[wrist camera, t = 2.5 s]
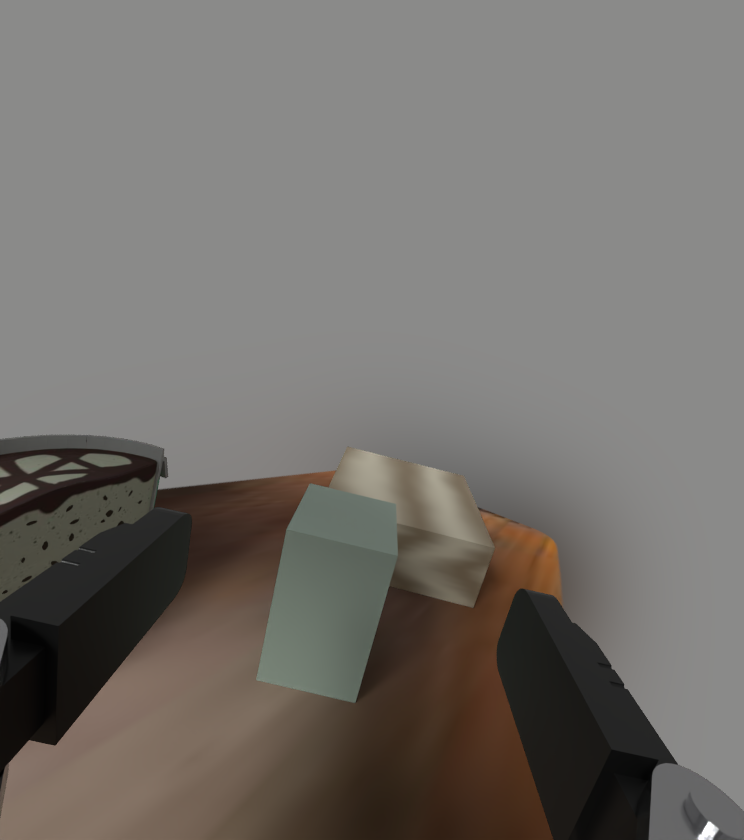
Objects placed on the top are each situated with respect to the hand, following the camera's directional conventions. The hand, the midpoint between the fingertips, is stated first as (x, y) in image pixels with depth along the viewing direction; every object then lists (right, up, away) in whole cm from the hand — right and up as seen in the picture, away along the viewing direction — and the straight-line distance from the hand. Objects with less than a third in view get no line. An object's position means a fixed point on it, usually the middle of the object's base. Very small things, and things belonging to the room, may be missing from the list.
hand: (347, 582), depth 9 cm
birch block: (+3, -8, +29) cm, 30 cm away
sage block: (-3, -10, +14) cm, 18 cm away
